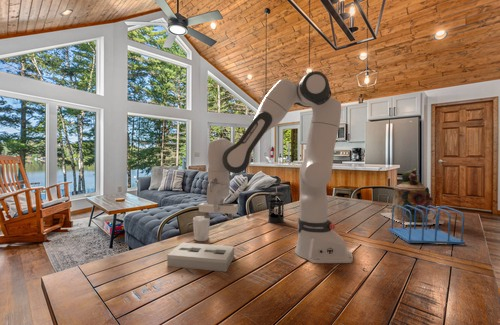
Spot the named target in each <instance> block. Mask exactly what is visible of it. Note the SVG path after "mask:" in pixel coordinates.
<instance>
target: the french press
mask: <svg viewBox="0 0 500 325" xmlns="http://www.w3.org/2000/svg"><path fill="white" fill-rule="evenodd" d="M272 184H273V185H275V191H272V192H268V194H269V198H271V199H270V200H269V201H268V223H269V224H278V223H279V224H283V223H285V219H284V218H285V216H284V205H285V202H284V200H279V199H277V198H278V197H282V198H284V195H285V193H284V192H280V191H278V185H281V183H280V182H273V183H272ZM274 198H275V199H274ZM279 224H278V225H279Z"/></svg>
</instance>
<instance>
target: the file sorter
mask: <svg viewBox="0 0 500 325" xmlns="http://www.w3.org/2000/svg"><path fill="white" fill-rule="evenodd" d="M394 206H398V207H400V208H402V209H404V210H403V225H402V228H401V227H394V221H393V216H394ZM406 206H409V205H405V206H404V208H403V207H401V206H399V205H392V210H391V211H392V212H391V213H392V220H391V226H390V227H389V230H388V231H389V232H390V231H391V234H393V233H394V234H393V235H395V234H396V235H397V236H396V235H395V236H396V237H398V236H399V237H400V239H401V238H402V239H403V240H402V239H401V240H402V241H404V240H405V241H407V242H408V243H407V242H406V243H407V244H409V243H447V244H465V245H466V242H465V241H463V240H464V230H465V215H464V213H463V212H462V211H459V210H458V209H455V208H452V207H448V206H445V205H440V206H439V207H437V206H434V205H432V204H430V205H429V206H427V208H426V207H423V206H420V205H417V206H416V207H412V206H409V207H411V208H414V209H415V219H414V225H413V228H412V225H411V222H412V214H411V212H410V211H409V210H408V209H406V208H405V207H406ZM418 206H419V207H422V208H425V209H426V225H424V219H425V217H424V213H423V211H422V210H419V209H417V207H418ZM428 207H430V209H429V208H428ZM432 208H434V209H437V211H435V210H433V209H432ZM442 208H445V209H448V210H452V211H454V212H457V213H459V214H461V216H462V220H461V222H462V224H461V235H460V238H457V237H455V236H453V235H451V220H452V217H451V214H450V212H449V211H448V210H445V209H442ZM405 210H407V211H408V212H409V213H410V225H409V228H405V225H404V219H405ZM417 210H418V211H421V212H422V215H423V223H422V225H421V227H422V228H417V227H416V226H417V225H416V211H417ZM428 210H430V212H432V213H434V214H435V220H436V225H434V229H432V228H429V229H428V225H427V217H428V216H429V214H428ZM440 211H442V212H445V213H446V214H447V215H448V227H447V228H448V230H447V232H445V231H442V230H441V229H440V228H439V226H440V225H439V221H440ZM428 218H429V217H428ZM399 237H398V238H399ZM405 241H404V242H405Z"/></svg>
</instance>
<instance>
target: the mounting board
mask: <svg viewBox="0 0 500 325" xmlns="http://www.w3.org/2000/svg"><path fill="white" fill-rule="evenodd" d="M234 257H235V246H234V245H233V246H232V245H221V244H219V245H218V244H209V243H208V244H207V243H193V242H180V243H179V244H178V245H177V246H175V248H174V249H172V250H171V251H170V252H169V253H168V254H167V256H166V258H167V260H166V262H167V265H166V266H167V267H173V268H184V269H194V270H202V271H203V270H204V271H214V272H215V271H216V272H227V271H228V269H229V268H230V265H231V263H232V261H233V260H234Z"/></svg>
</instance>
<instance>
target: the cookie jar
mask: <svg viewBox="0 0 500 325" xmlns="http://www.w3.org/2000/svg"><path fill="white" fill-rule="evenodd" d="M401 179H402V183H400V184H394V185H393V186H392V188H393V190H394V193H393V198H392V204H391V205H392V206H393V205H399V206H401V207H403V208H404V206H405V205H409V206H412V207H416V206H417V205H420V206H423V207H426V208H427V206H429V205H432V203H433V201H434V198H433V197H432V196H431V193H430V188H429V187H427V186H425V185H424V184H423V183H421V182H420V181H419V180H418V175H417V168H414V169H412V170H405V171H404V172H403V173H402V175H401ZM409 206H406V207H405V208H406V209H408V210H409V211H410V212H411V214H412V222H411V226H414V219H415V209H414V208H411V207H409ZM428 208H429V209H431V207H428ZM417 209H419V210H422V211H423V213H424V217H425V219H424V226H426V209H425V208H422V207H419V206H418V207H417ZM403 210H404V209H402V208H400V207H398V206H394V216H393V220H395V221H394V222H396V221H397V222H396V223H398V222H399V221H400V220H401V221H403ZM430 213H431V211H430V210H428V215H429V214H430ZM380 215H381V216H383V217H384V216H385V217H384V218H387V219H389V218H390V219H389V220H391V219H392V212H380ZM404 221H406V222H405V223H404V224H405V225H407V226H410V213H409V212H408V211H407V210H405V219H404ZM422 223H423V215H422V212H421V211H418V210H417V211H416V226H417V225H419V226H422ZM444 223H445V221H443V220H439V224H442V225H444ZM402 224H403V223H402ZM402 224H401V225H402ZM433 224H436V219H433V218H431V217H427V226H434V225H433ZM405 225H404V226H405Z"/></svg>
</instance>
